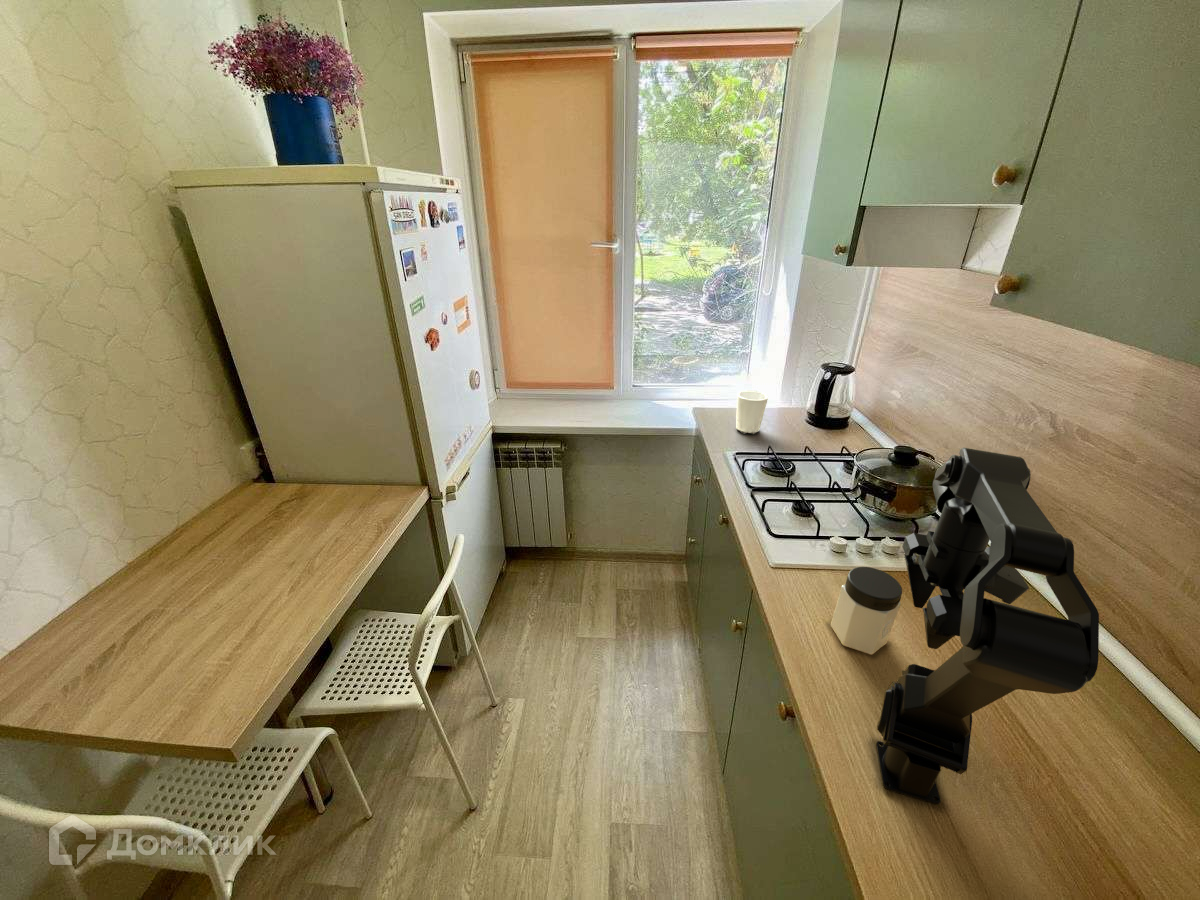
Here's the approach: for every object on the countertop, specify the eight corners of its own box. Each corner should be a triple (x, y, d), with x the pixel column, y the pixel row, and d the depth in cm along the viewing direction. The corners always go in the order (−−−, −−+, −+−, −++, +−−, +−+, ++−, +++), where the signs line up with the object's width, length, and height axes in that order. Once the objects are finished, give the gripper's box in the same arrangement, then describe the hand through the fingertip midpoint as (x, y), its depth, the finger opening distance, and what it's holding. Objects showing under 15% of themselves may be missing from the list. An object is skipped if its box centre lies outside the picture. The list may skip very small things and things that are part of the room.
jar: (865, 662, 81) (884, 608, 76) (821, 630, 87) (836, 578, 82) (894, 639, 86) (914, 586, 80) (850, 610, 92) (866, 559, 87)
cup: (731, 424, 172) (735, 389, 166) (759, 425, 170) (765, 391, 165) (734, 435, 163) (739, 399, 157) (764, 437, 162) (770, 401, 156)
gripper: (1069, 601, 54) (1016, 696, 61) (1004, 512, 70) (967, 596, 77) (954, 578, 58) (915, 671, 64) (916, 499, 73) (889, 580, 80)
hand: (924, 626), depth 71 cm, fingers open, 8 cm apart
